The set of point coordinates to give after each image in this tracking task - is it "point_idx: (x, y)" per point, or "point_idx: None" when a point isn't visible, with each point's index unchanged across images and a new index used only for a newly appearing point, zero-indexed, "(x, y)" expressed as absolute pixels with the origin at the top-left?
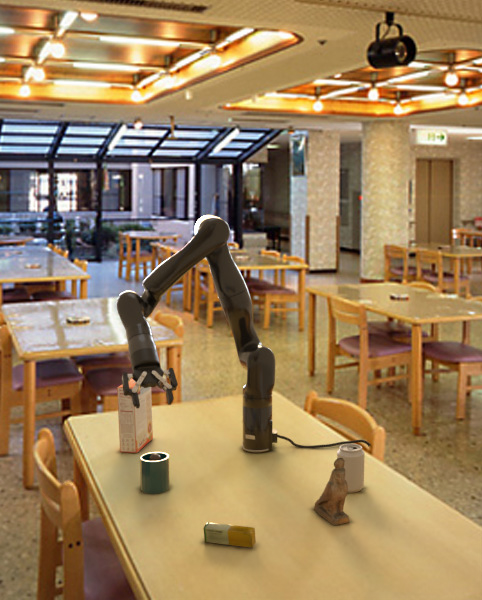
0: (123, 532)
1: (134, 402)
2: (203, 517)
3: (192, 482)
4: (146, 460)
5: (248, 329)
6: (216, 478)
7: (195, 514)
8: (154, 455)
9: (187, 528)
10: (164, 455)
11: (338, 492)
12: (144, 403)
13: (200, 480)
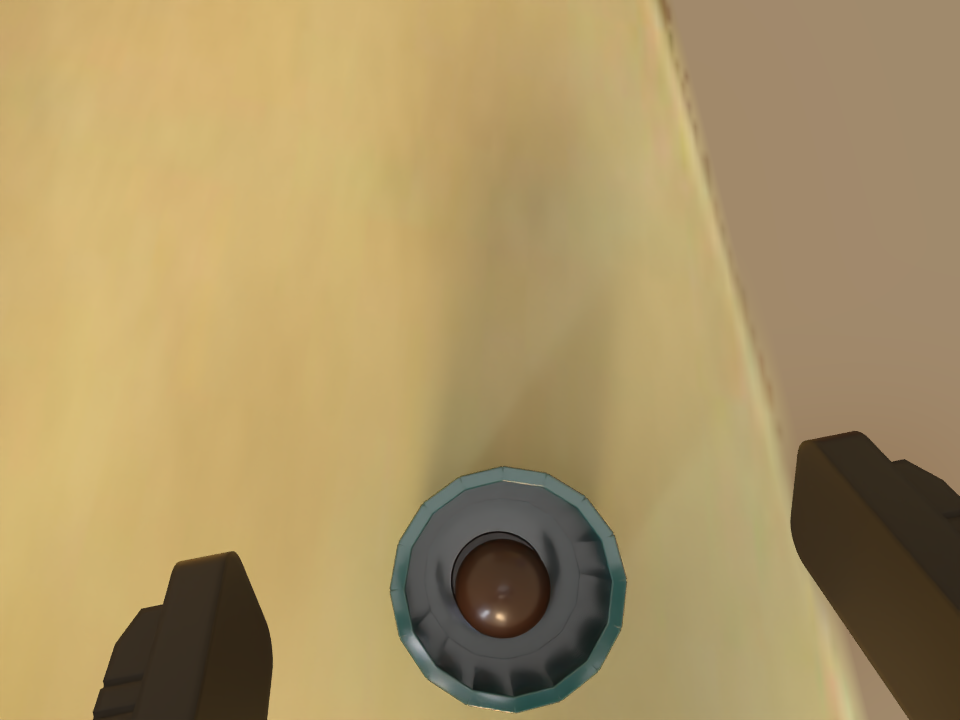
0: (659, 57)
1: (931, 484)
2: (284, 130)
3: None
4: (568, 662)
5: None
6: (104, 665)
7: (317, 171)
8: (509, 565)
9: (374, 36)
10: (424, 645)
11: None
12: None
13: None
